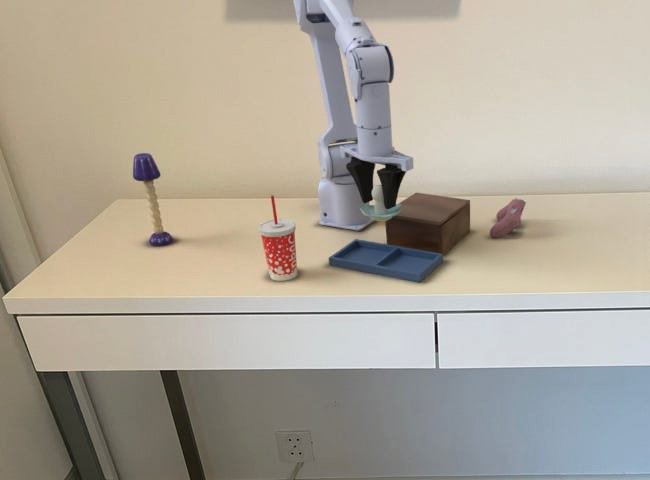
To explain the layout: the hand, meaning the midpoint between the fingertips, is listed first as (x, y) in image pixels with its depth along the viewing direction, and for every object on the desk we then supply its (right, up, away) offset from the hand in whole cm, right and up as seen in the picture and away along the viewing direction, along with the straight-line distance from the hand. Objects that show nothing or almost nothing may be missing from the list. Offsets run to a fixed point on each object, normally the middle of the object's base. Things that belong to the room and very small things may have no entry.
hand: (379, 204), depth 131 cm
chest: (+8, -4, +11) cm, 14 cm away
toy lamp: (-42, -5, +11) cm, 44 cm away
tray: (+1, -10, +1) cm, 10 cm away
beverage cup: (-16, -13, -2) cm, 21 cm away
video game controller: (+24, -2, +14) cm, 28 cm away
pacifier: (0, -2, +1) cm, 3 cm away
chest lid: (+8, +1, +7) cm, 11 cm away
